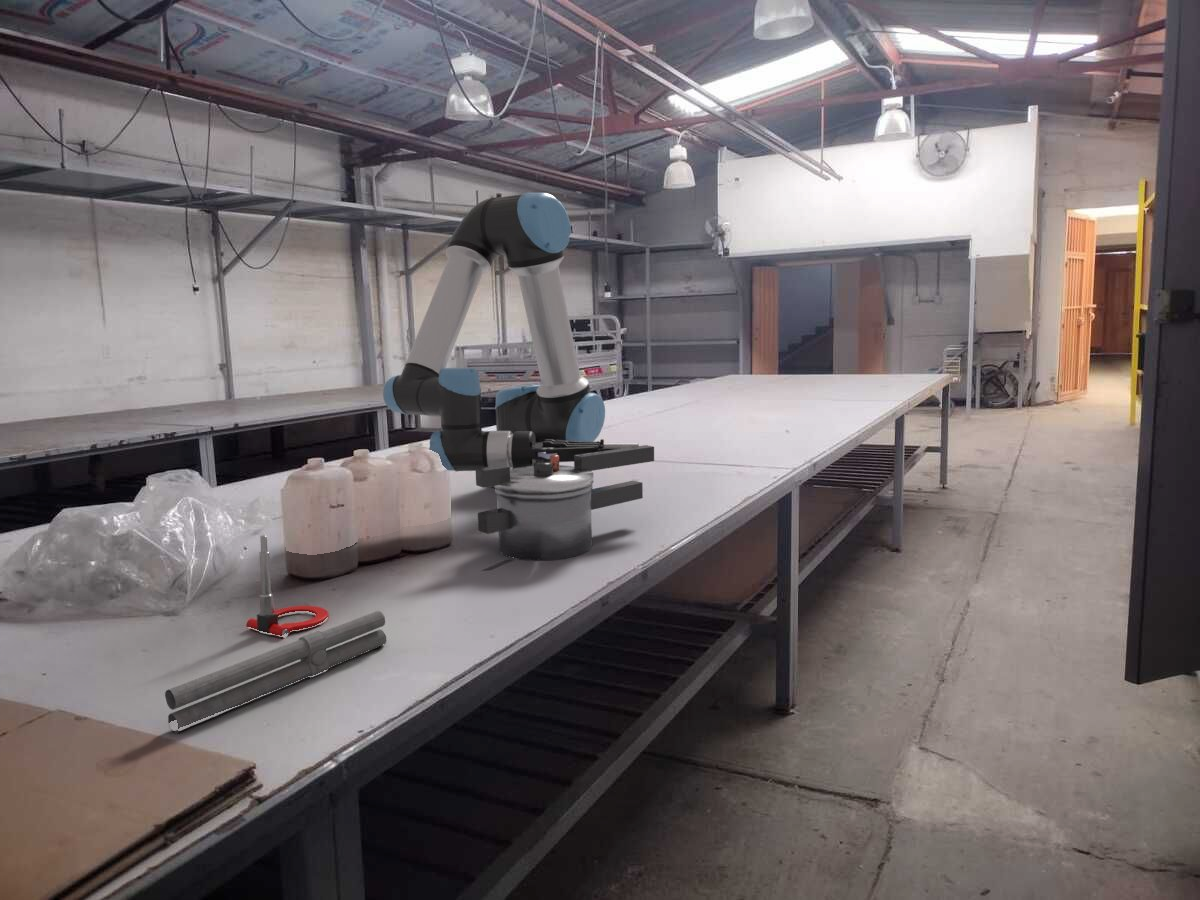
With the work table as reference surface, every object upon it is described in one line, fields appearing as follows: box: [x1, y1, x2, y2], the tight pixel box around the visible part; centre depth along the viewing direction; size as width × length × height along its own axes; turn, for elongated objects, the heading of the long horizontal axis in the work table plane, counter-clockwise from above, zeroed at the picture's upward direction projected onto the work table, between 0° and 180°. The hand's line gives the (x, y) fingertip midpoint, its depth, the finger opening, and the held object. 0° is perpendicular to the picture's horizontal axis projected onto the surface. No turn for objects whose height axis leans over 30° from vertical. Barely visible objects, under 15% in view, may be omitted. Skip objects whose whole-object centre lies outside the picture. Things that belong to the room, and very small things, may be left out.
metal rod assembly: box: [164, 610, 387, 729], centre depth 89 cm, size 26×3×5 cm, turn 144°
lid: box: [475, 444, 655, 494], centre depth 140 cm, size 35×17×4 cm, turn 125°
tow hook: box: [245, 534, 329, 636], centre depth 106 cm, size 8×13×9 cm
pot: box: [477, 480, 644, 562], centre depth 141 cm, size 26×26×11 cm
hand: (638, 450), depth 150 cm, fingers closed
